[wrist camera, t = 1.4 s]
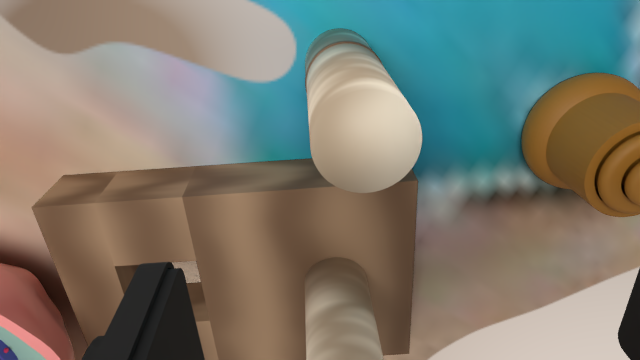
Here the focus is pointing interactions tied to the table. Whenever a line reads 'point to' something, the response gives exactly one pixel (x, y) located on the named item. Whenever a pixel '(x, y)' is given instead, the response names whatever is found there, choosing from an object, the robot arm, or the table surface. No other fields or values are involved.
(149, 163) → the table surface
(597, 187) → the ornamental finial
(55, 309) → the cell model
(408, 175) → the brown block with hole
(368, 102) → the birch leg
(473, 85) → the table surface
